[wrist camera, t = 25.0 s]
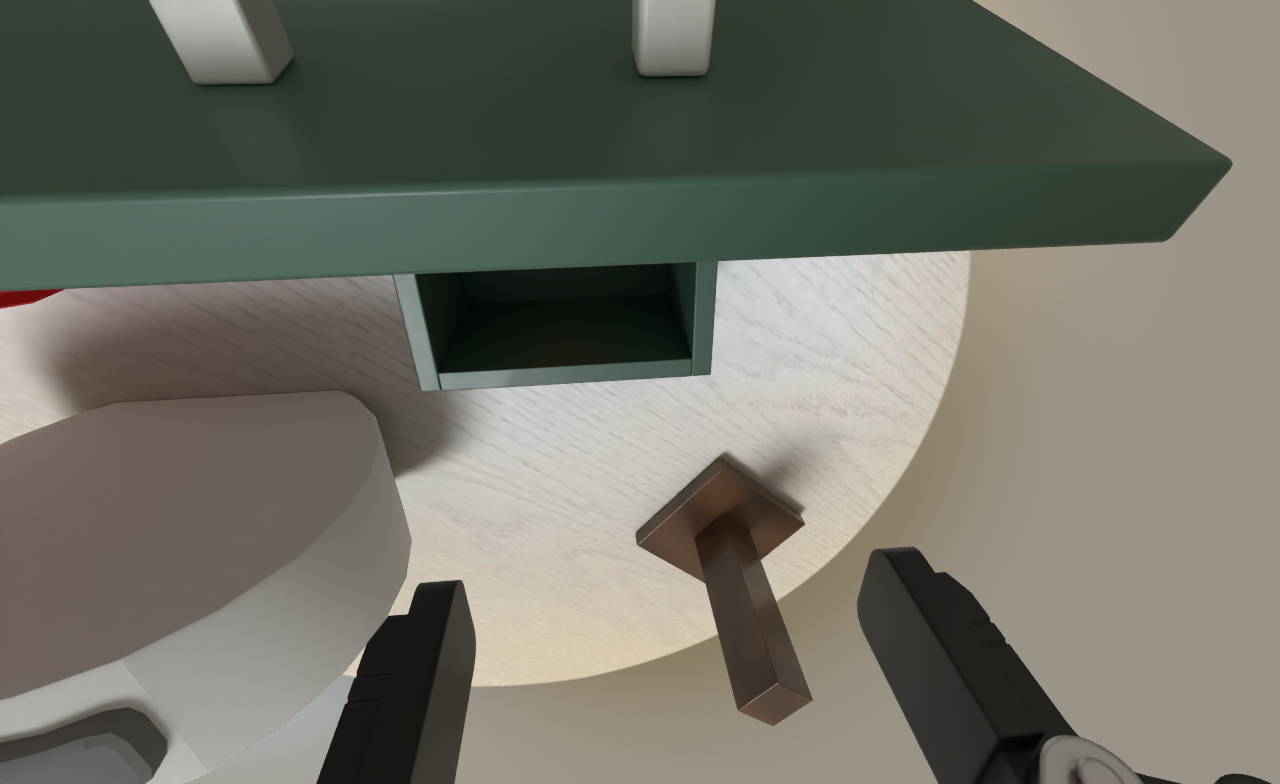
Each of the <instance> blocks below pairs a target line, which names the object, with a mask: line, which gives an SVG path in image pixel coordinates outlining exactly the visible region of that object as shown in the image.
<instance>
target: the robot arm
mask: <svg viewBox="0 0 1280 784" xmlns="http://www.w3.org/2000/svg"><path fill="white" fill-rule="evenodd" d="M857 611H858V618H859V622H860V625H861V628H862V631H863V633H864V635H865V637H866V639H867V641H868V643H869V645H870V647H871V649H872V651H873V653H874V655H875V657H876V659H877V661H878V663H879V665H880V667H881V669H882V671H883V673H884V675H885V677H886V679H887V681H888V683H889V685H890V687H891V689H892V691H893V693H894V695H895V697H896V699H897V701H898V703H899V705H900V707H901V709H902V711H903V713H904V715H905V717H906V719H907V721H908V723H909V725H910V727H911V729H912V731H913V733H914V735H915V738H916V740H917V742H918V744H919V746H920V748H921V750H922V751H923V754H924V756H925V758H926V760H927V762H928V764H929V765H930V767H931V770H932V772H933V774H934V776H935V777H936V780H937V782H938V784H1180V783H1176V782H1171V781H1167V780H1163V779H1159V778H1154V777H1150V776H1146V775H1143V774H1139V773H1136V772H1134V771H1133V770H1132V769H1131V768H1130V767H1129V766H1128V765H1127V764H1126V763H1124V762H1123V761H1122V760H1121V759H1120V758H1118V757H1117V756H1116V755H1114V754H1113V753H1112V752H1110V751H1108V750H1107V749H1106V748H1104V747H1102V746H1100V745H1098V744H1096V743H1094V742H1092V741H1090V740H1087V739H1084V738H1081V737H1079V736H1078V735H1077V734H1076V733H1075V732H1074V730H1073V729H1072V728H1071V727H1070V726H1069V724H1068V723H1067V722H1066V720H1065V719H1064V718H1063V716H1062V715H1061V714H1060V712H1059V711H1058V709H1057V708H1056V707H1055V705H1054V704H1053V703H1052V701H1051V700H1050V699H1049V697H1048V696H1047V695H1046V693H1045V692H1044V690H1043V689H1042V688H1041V686H1040V685H1039V684H1038V682H1037V681H1036V680H1035V679H1034V677H1033V676H1032V674H1031V673H1030V672H1029V670H1028V669H1027V668H1026V666H1025V665H1024V663H1023V662H1022V661H1021V660H1020V658H1019V657H1018V655H1017V654H1016V653H1015V651H1014V650H1013V648H1012V647H1011V646H1010V644H1006V642H1005V638H1004V636H1003V635H1002V634H1001V632H1000V631H999V630H998V628H997V627H996V625H995V624H994V623H991V622H990V618H989V616H988V615H987V613H986V612H985V610H984V609H983V608H982V606H981V605H980V604H979V602H978V601H977V600H976V598H975V597H974V596H973V594H972V593H971V592H970V591H968V590H967V589H966V588H965V587H964V586H962V585H961V584H960V583H959V582H957V581H956V580H955V579H954V578H952V577H951V576H950V575H949V574H947V573H946V572H941V573H935V572H934V571H933V569H932V568H931V566H930V565H929V563H928V562H927V560H926V559H925V558H924V556H923V555H922V553H921V552H920V551H919V550H918V549H916V548H914V547H898V548H886V549H876V550H874V551H872V553H871V555H870V558H869V562H868V565H867V569H866V572H865V575H864V579H863V583H862V586H861V589H860V593H859V596H858V601H857ZM475 655H476V638H475V630H474V625H473V621H472V617H471V613H470V609H469V605H468V601H467V596H466V592H465V588H464V585H463V582H462V581H461V580H453V581H440V582H427V583H420V584H419V585H418V586H417V588H416V590H415V593H414V596H413V600H412V603H411V606H410V609H409V613H408V614H407V615H394V616H388V617H387V618H386V620H385V621H384V622H383V623H382V625H381V626H380V627H379V628H378V630H377V631H376V632H375V633H374V635H373V636H372V637H371V638H370V640H369V641H368V642H367V645H366V648H365V650H364V653H363V656H362V659H361V661H360V664H359V667H358V670H357V677H356V678H355V679H354V681H353V684H352V686H351V689H350V692H349V695H348V702H347V704H345V706H344V708H343V711H342V714H341V717H340V720H339V722H338V725H337V728H336V731H335V733H334V736H333V739H332V742H331V744H330V748H329V750H328V753H327V756H326V759H325V761H324V764H323V767H322V769H321V772H320V775H319V778H318V781H317V784H454V781H455V776H456V769H457V764H458V759H459V752H460V746H461V741H462V735H463V729H464V723H465V717H466V712H467V705H468V700H469V693H470V688H471V682H472V677H473V671H474V665H475ZM1214 784H1271V783H1269V782H1266V781H1264V780H1262V779H1259V778H1256V777H1252V776H1248V775H1244V774H1228V775H1224V776H1222V777H1220V778H1219V779H1218V780H1217V781H1216V782H1215V783H1214Z"/></svg>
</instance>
